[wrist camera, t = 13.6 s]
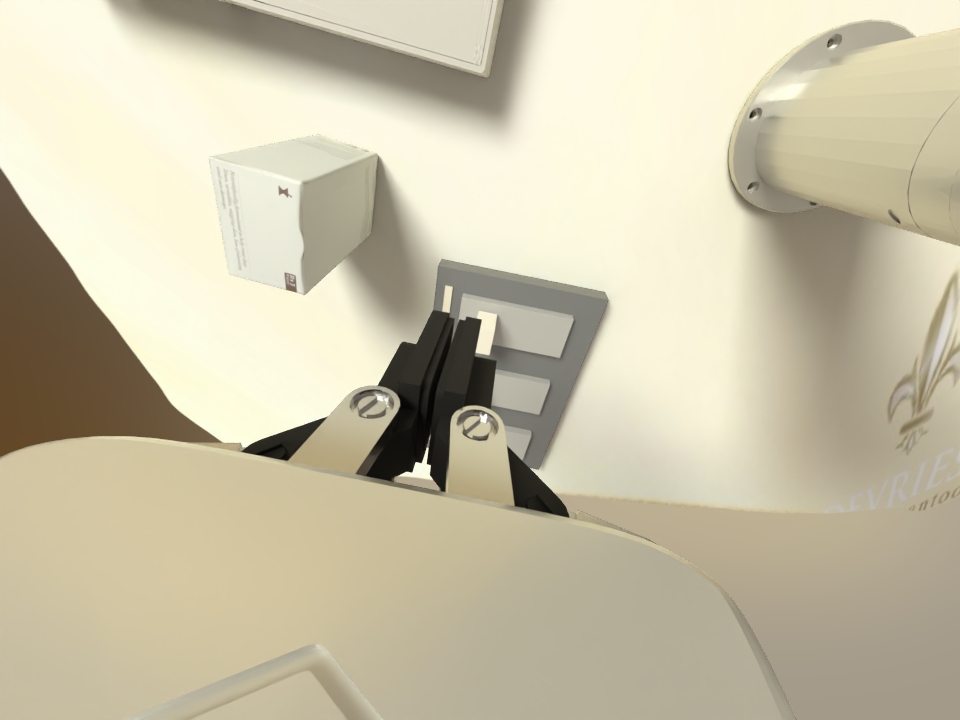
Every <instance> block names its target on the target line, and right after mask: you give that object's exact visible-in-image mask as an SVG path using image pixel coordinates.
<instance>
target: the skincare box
mask: <svg viewBox="0 0 960 720" xmlns="http://www.w3.org/2000/svg"><path fill="white" fill-rule="evenodd" d="M377 160H378V154H377V153H375V152H372V151H369V150H366V149H363V148H360V147H357V146H354V145H350V144H347V143H344V142H341V141H338V140H335V139H332V138H329V137H326V136H323V135H319V134H317V135H312V136H307V137H302V138H297V139H293V140H288V141H283V142H278V143H274V144H268V145H264V146H259V147H254V148H249V149H245V150H240V151H235V152H230V153H226V154H221V155H216V156H211V157H209V162H210V168H211V174H212V179H213V185H214V190H215V196H216V202H217V208H218V213H219V220H220V225H221V231H222V237H223V243H224V248H225V254H226V260H227V266H228V272H229V274H231V275H234V276H237V277H241V278H244V279H248V280H252V281H255V282H259V283H263V284H267V285H270V286H274V287H278V288H281V289H285V290H289V291H293V292H297V293H300V294H303V295H305V294H307V293H308V292H309V291H310V290H311V289H312V288H313V287H314V286H315V285H316V284H317V283H319V282H320V281H321V280H322V279H323V278H324V277H325V276H326V275H327V274H328V273H329V272H330V271H331V270H332V269H334V268H335V267H336V266H337V265H338V264H339V263H340V262H341V261H342V260H343V259H344V258H346V257H347V256H348V255H349V254H350V253H351V252H352V251H353V250H354V249H355V248H356V247H357V246H358V245H360V244H361V243H362V242H363V241H364V240H365V239H366V238H367V237H368V236H369V235H371V230H372V220H373V210H374V199H375V187H376V169H377Z"/></svg>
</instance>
